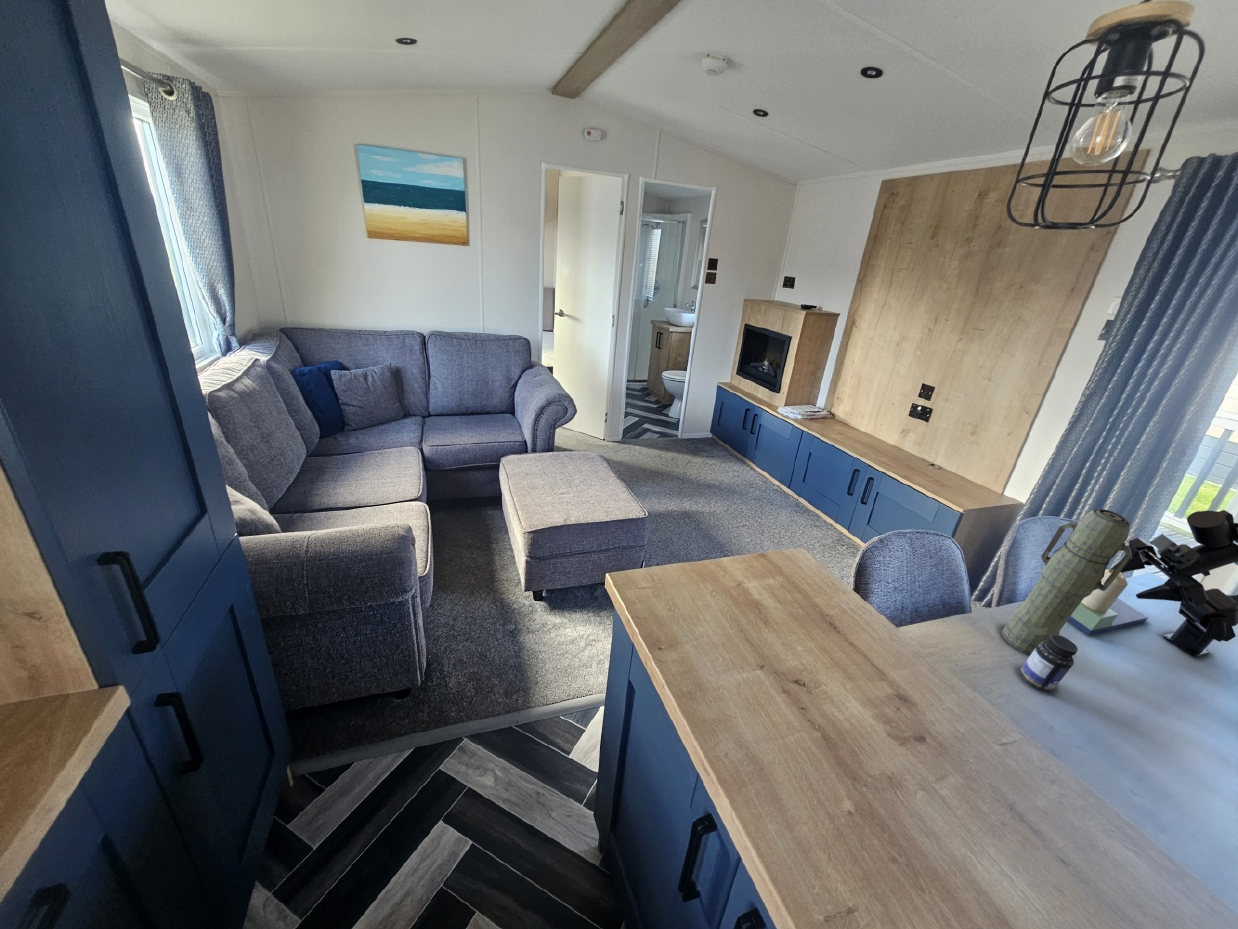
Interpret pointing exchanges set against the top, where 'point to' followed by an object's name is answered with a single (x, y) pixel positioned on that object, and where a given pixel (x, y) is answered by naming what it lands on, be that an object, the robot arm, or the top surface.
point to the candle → (1106, 593)
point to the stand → (1105, 617)
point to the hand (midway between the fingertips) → (1122, 583)
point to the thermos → (1069, 577)
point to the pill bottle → (1049, 662)
